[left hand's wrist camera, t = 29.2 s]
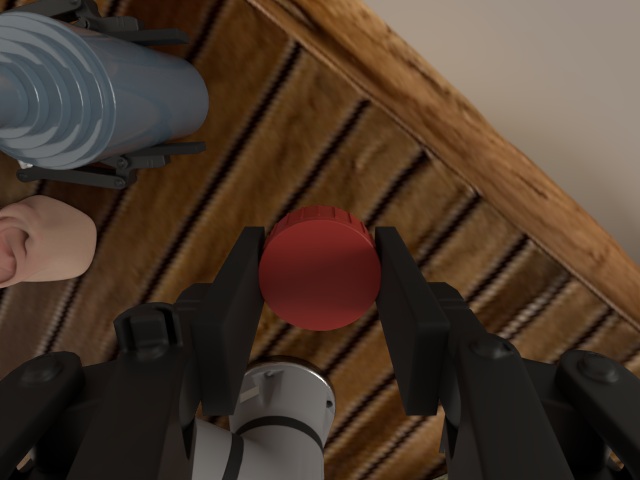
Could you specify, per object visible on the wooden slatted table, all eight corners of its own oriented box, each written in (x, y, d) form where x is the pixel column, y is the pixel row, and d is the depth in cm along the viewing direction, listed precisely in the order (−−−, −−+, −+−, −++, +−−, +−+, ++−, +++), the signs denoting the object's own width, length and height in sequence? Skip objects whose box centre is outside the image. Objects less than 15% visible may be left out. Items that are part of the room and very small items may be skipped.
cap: (321, 178, 13) (321, 190, 12) (399, 259, 15) (410, 280, 13) (240, 256, 14) (229, 277, 13) (318, 325, 16) (318, 352, 14)
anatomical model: (70, 208, 39) (86, 302, 43) (92, 199, 42) (104, 286, 46) (-59, 198, 38) (-31, 294, 42) (-25, 189, 42) (-3, 278, 46)
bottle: (213, 64, 37) (41, 8, 14) (204, 146, 40) (49, 209, 17) (130, 44, 37) (-194, -50, 14) (127, 128, 40) (-143, 170, 16)
